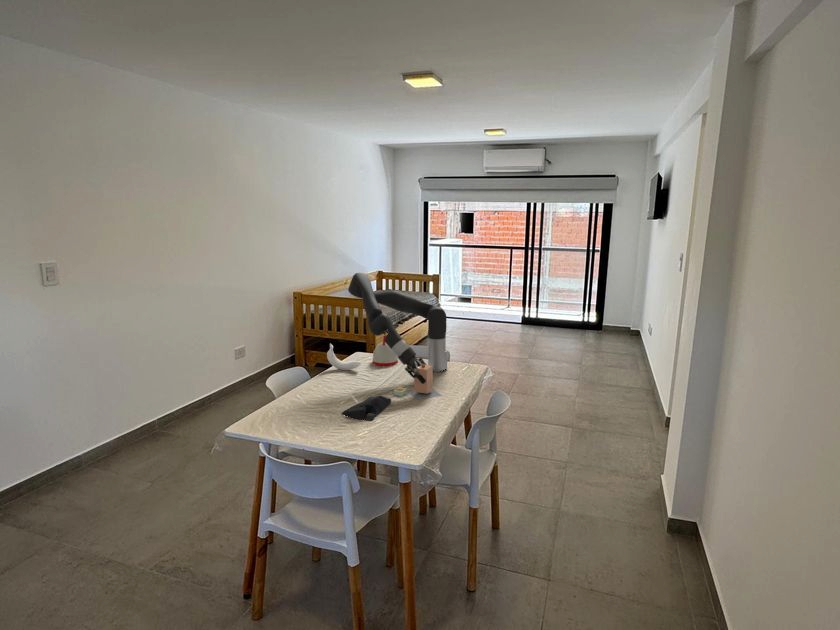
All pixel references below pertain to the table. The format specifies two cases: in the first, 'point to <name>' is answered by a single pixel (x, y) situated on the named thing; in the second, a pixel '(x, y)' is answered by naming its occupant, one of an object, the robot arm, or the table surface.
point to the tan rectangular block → (428, 376)
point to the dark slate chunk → (367, 408)
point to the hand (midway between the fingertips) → (427, 380)
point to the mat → (424, 394)
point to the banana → (341, 364)
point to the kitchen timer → (384, 355)
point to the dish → (400, 392)
